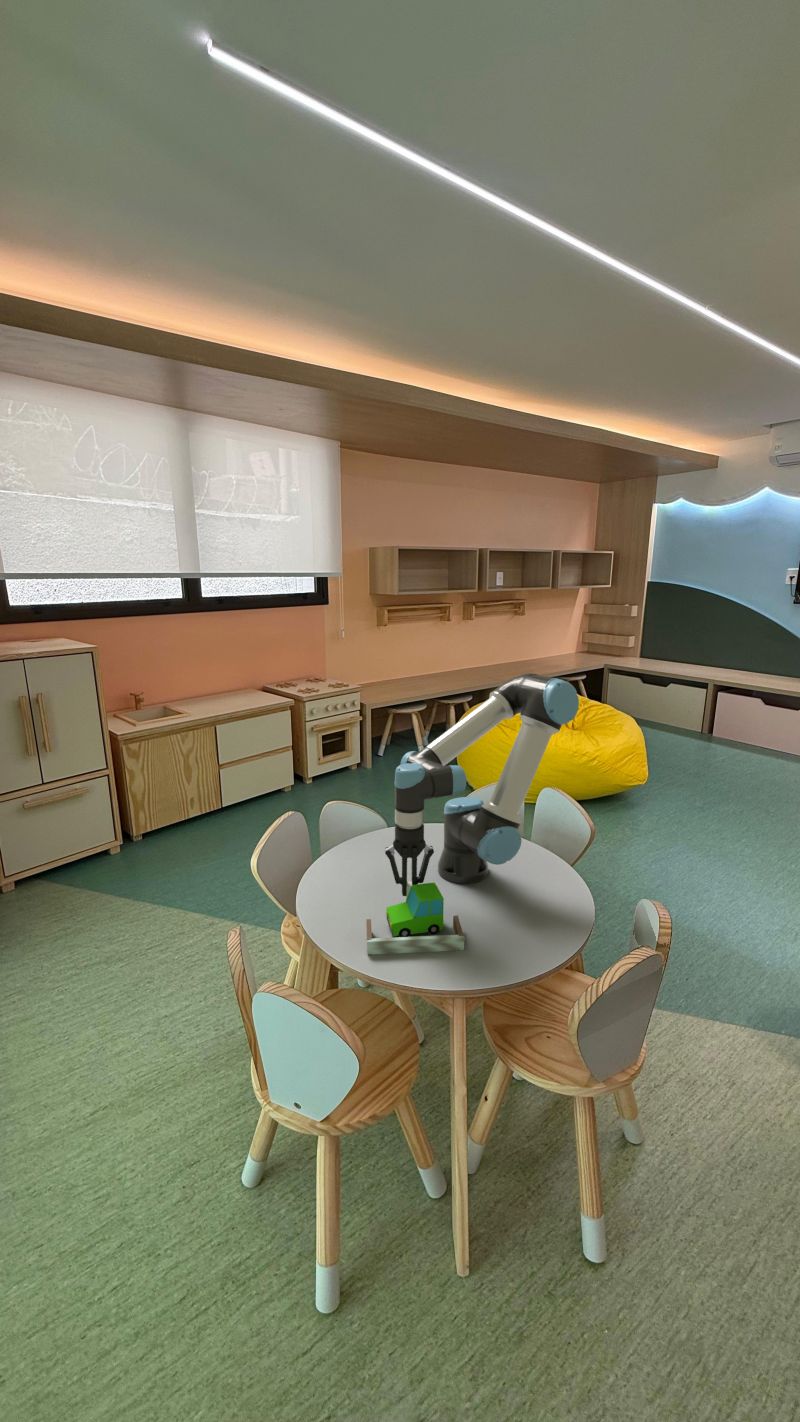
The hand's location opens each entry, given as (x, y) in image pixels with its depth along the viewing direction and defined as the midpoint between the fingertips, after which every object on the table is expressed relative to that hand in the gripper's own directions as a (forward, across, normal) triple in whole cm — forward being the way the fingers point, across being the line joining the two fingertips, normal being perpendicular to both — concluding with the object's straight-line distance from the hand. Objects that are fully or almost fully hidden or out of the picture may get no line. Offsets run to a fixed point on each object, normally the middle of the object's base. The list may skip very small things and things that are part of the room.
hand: (409, 906), depth 162 cm
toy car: (+3, -1, +6) cm, 7 cm away
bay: (+3, 0, +12) cm, 12 cm away
